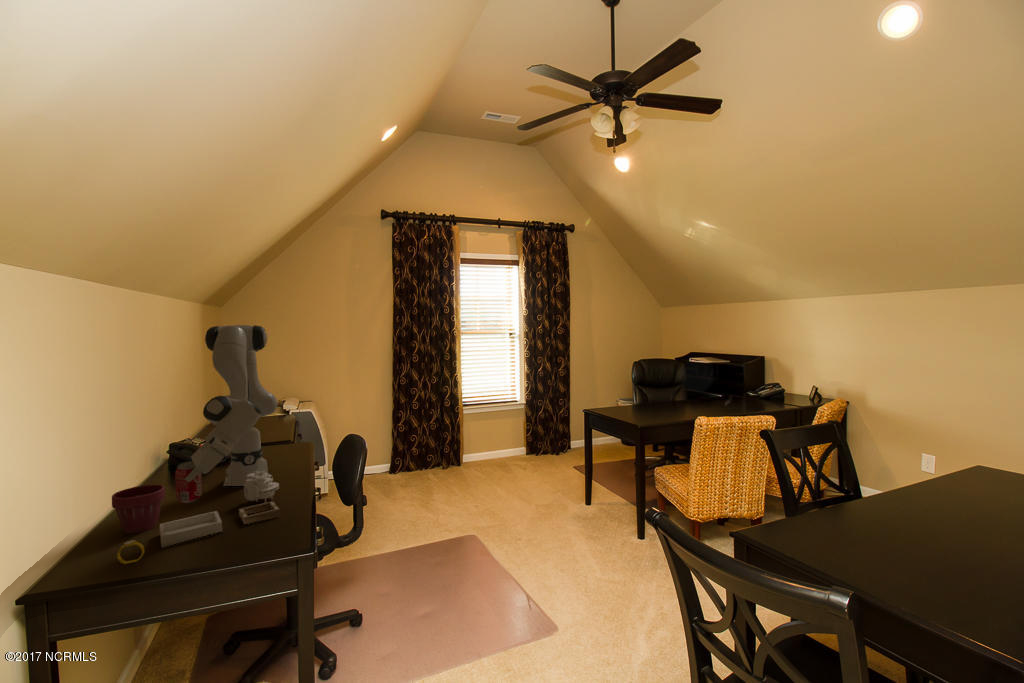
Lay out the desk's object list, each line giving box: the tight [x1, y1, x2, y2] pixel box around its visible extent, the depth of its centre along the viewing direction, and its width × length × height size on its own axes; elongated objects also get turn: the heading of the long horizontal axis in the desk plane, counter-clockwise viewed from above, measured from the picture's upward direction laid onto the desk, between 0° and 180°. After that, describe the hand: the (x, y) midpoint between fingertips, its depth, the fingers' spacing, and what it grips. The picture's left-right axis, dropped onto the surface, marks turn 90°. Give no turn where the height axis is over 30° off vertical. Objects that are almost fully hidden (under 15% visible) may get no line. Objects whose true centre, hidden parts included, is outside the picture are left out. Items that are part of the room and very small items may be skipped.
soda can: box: [174, 460, 203, 504], centre depth 153 cm, size 7×7×12 cm
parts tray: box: [159, 510, 223, 549], centre depth 153 cm, size 13×16×4 cm
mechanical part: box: [243, 471, 280, 503], centre depth 181 cm, size 11×12×12 cm
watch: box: [116, 539, 145, 565], centre depth 134 cm, size 6×3×6 cm, turn 116°
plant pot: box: [111, 483, 166, 534], centre depth 159 cm, size 14×14×13 cm
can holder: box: [238, 500, 281, 526], centre depth 165 cm, size 11×11×2 cm
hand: (185, 477), depth 152 cm, fingers closed on soda can, 6 cm apart
